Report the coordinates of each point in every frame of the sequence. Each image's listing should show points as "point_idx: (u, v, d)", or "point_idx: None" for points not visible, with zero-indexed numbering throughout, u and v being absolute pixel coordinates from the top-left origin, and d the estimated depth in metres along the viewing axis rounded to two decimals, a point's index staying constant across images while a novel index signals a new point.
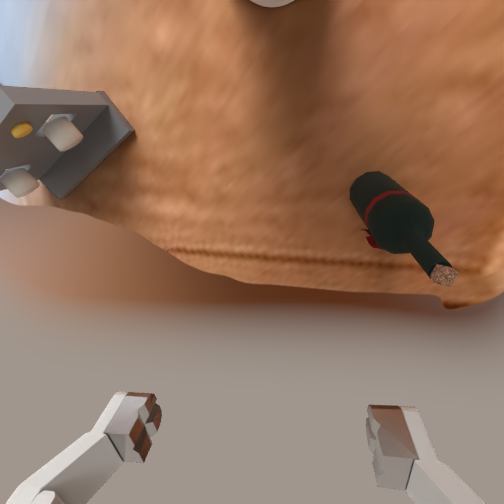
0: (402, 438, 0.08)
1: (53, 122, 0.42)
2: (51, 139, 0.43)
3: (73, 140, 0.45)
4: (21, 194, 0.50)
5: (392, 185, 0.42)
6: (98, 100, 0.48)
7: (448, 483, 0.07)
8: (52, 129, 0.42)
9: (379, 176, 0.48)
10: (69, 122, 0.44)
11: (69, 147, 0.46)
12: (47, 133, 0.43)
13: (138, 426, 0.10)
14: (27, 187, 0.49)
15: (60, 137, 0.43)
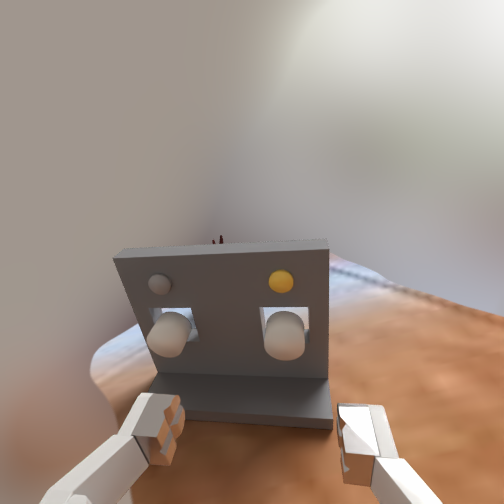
0: (366, 435, 0.08)
1: (295, 316, 0.32)
2: (275, 322, 0.31)
3: (289, 347, 0.30)
4: (154, 339, 0.32)
5: None
6: None
7: (405, 478, 0.07)
8: (288, 317, 0.31)
9: None
10: None
11: (272, 350, 0.31)
12: (278, 316, 0.31)
13: (165, 428, 0.10)
14: (173, 338, 0.32)
15: (290, 326, 0.30)
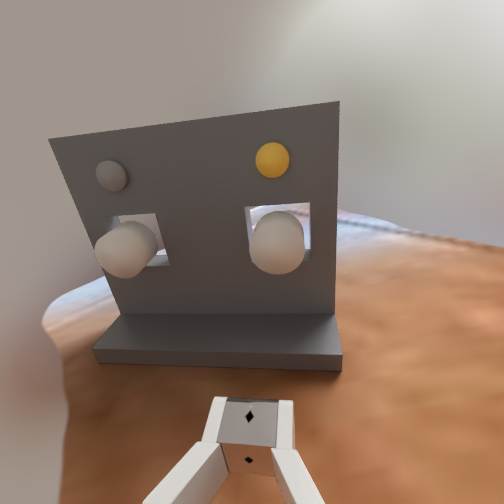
0: (268, 428, 0.09)
1: (292, 216, 0.24)
2: (265, 221, 0.23)
3: (284, 252, 0.22)
4: (104, 250, 0.24)
5: None
6: None
7: (291, 468, 0.08)
8: (283, 215, 0.23)
9: None
10: None
11: (260, 258, 0.23)
12: (270, 215, 0.23)
13: None
14: (128, 248, 0.24)
15: (284, 222, 0.22)
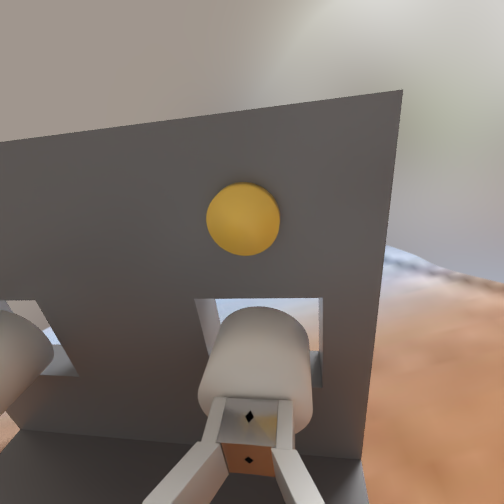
0: (268, 428, 0.09)
1: (288, 320, 0.12)
2: (232, 337, 0.11)
3: None
4: None
5: None
6: None
7: (291, 467, 0.08)
8: (269, 322, 0.11)
9: None
10: None
11: None
12: (243, 321, 0.12)
13: None
14: None
15: (270, 350, 0.10)
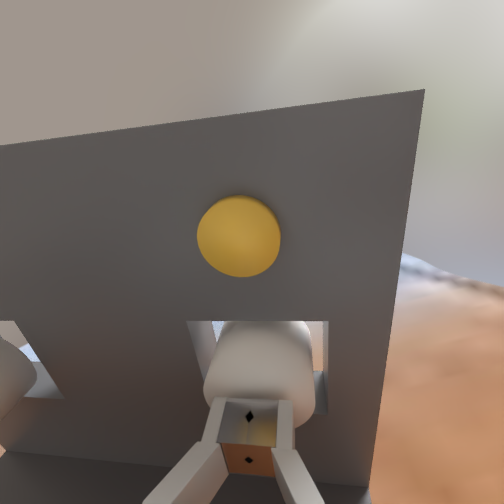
0: (268, 428, 0.09)
1: None
2: (236, 333, 0.11)
3: None
4: None
5: None
6: None
7: (291, 468, 0.08)
8: None
9: None
10: None
11: None
12: None
13: None
14: None
15: (273, 345, 0.10)
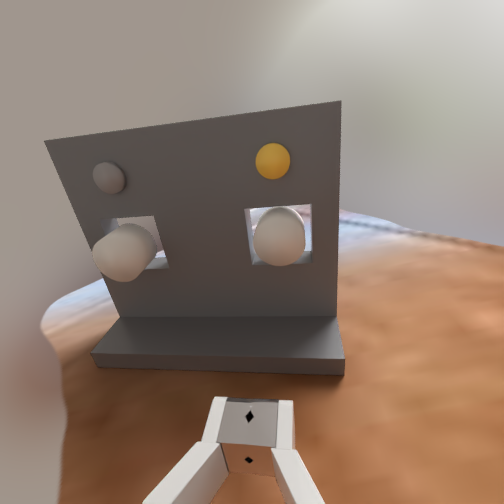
0: (268, 428, 0.09)
1: (294, 211, 0.25)
2: (267, 215, 0.24)
3: (285, 244, 0.23)
4: (102, 253, 0.24)
5: None
6: None
7: (291, 467, 0.08)
8: (285, 210, 0.24)
9: None
10: None
11: (263, 250, 0.24)
12: (272, 210, 0.24)
13: None
14: (126, 251, 0.23)
15: (286, 216, 0.23)
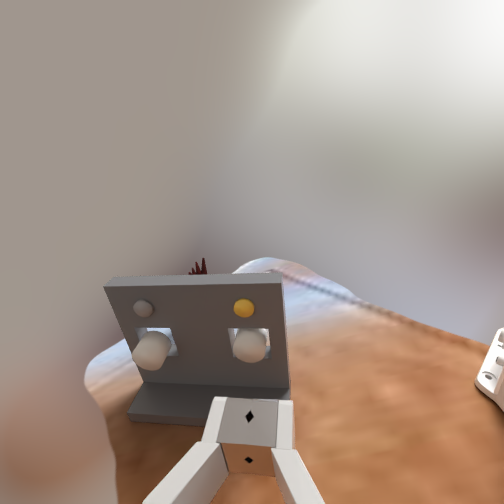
0: (268, 428, 0.09)
1: None
2: (242, 331, 0.38)
3: (253, 351, 0.37)
4: (138, 355, 0.38)
5: None
6: None
7: (291, 467, 0.08)
8: None
9: None
10: None
11: (239, 354, 0.38)
12: None
13: None
14: (154, 355, 0.38)
15: (253, 335, 0.37)
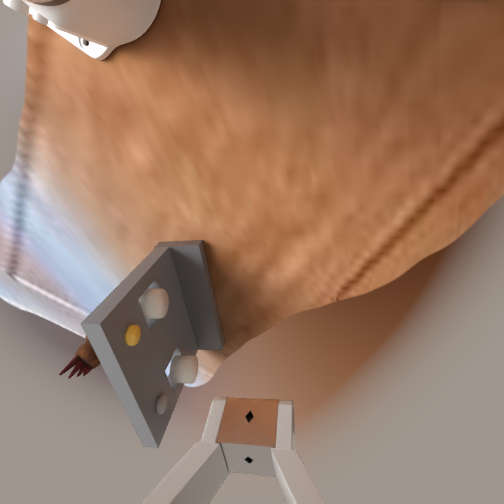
0: (268, 428, 0.09)
1: None
2: (147, 316, 0.40)
3: (160, 299, 0.41)
4: (193, 377, 0.47)
5: None
6: (159, 251, 0.45)
7: (291, 468, 0.08)
8: None
9: None
10: None
11: (165, 307, 0.42)
12: None
13: None
14: (190, 368, 0.46)
15: (148, 308, 0.39)
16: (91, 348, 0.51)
